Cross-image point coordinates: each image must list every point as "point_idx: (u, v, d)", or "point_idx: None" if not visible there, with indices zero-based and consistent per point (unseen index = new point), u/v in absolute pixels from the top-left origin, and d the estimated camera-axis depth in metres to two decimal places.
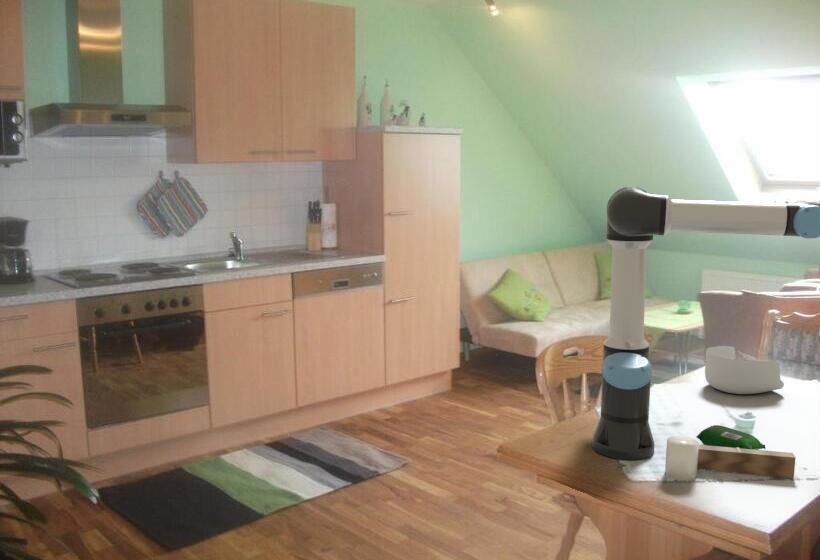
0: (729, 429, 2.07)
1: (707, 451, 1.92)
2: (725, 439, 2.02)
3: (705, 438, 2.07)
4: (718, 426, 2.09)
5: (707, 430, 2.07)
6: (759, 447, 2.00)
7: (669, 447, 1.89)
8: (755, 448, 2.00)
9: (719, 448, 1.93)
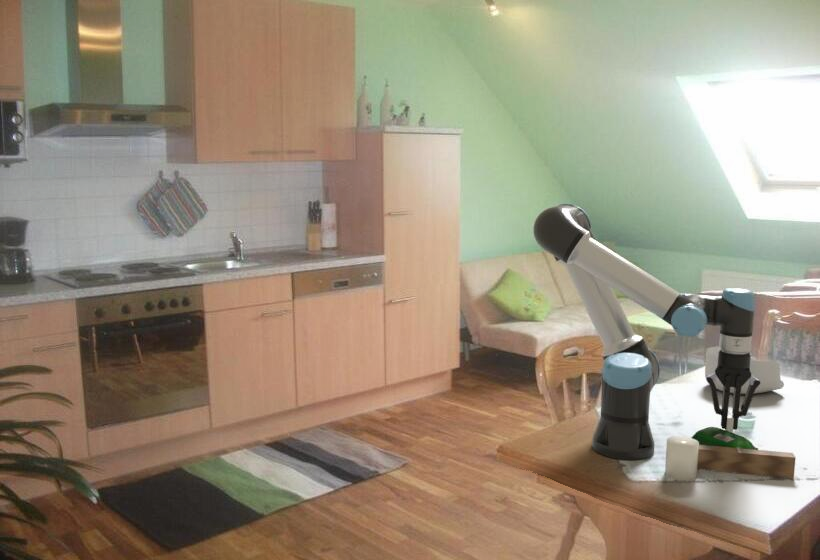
0: (723, 431, 2.05)
1: (707, 451, 1.92)
2: (717, 441, 2.01)
3: (699, 439, 2.06)
4: (713, 428, 2.07)
5: (701, 431, 2.06)
6: None
7: (669, 447, 1.89)
8: None
9: (719, 448, 1.93)
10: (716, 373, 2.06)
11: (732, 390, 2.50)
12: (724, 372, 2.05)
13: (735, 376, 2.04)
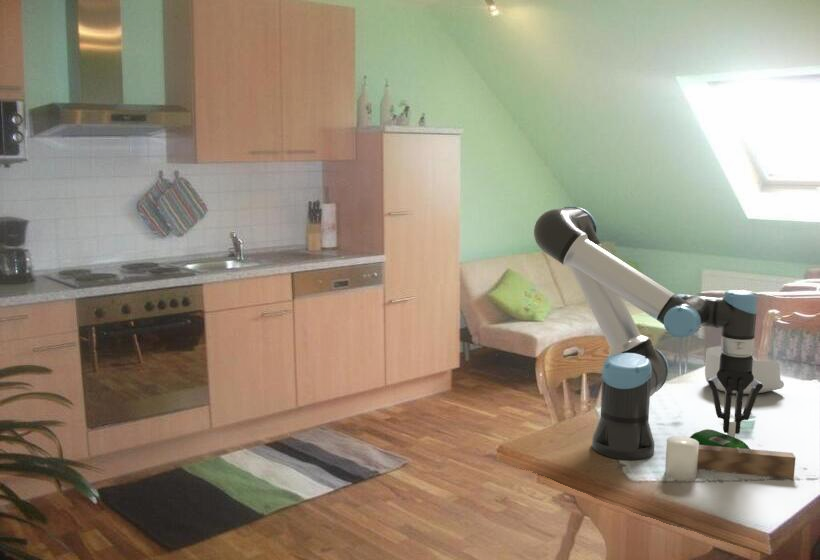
0: (719, 433, 2.03)
1: (707, 451, 1.92)
2: (712, 443, 1.99)
3: None
4: (709, 430, 2.06)
5: (697, 434, 2.04)
6: None
7: (669, 447, 1.89)
8: None
9: (719, 448, 1.93)
10: (718, 376, 2.03)
11: None
12: (726, 375, 2.02)
13: (737, 379, 2.01)
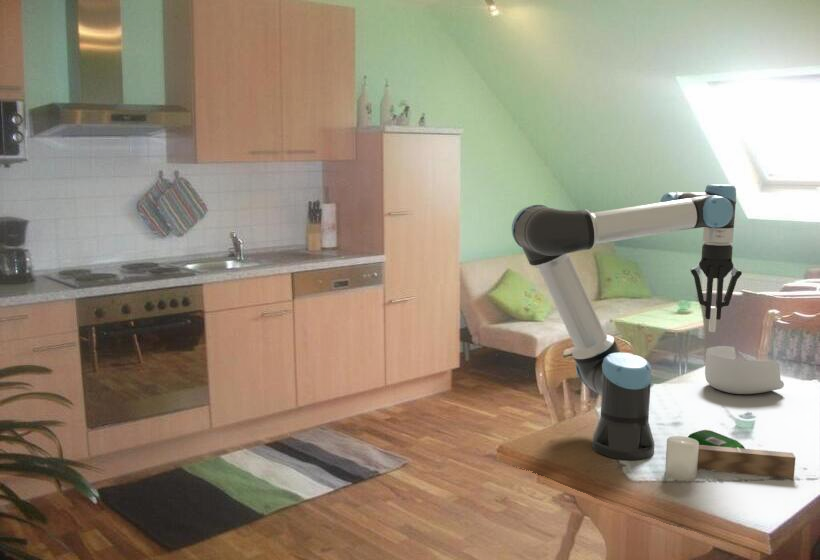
0: (716, 434, 2.03)
1: (707, 451, 1.92)
2: (708, 444, 1.99)
3: None
4: (707, 431, 2.05)
5: (694, 434, 2.04)
6: None
7: (669, 447, 1.89)
8: None
9: (719, 448, 1.93)
10: (700, 265, 2.17)
11: (732, 390, 2.50)
12: (707, 264, 2.16)
13: (718, 267, 2.16)
